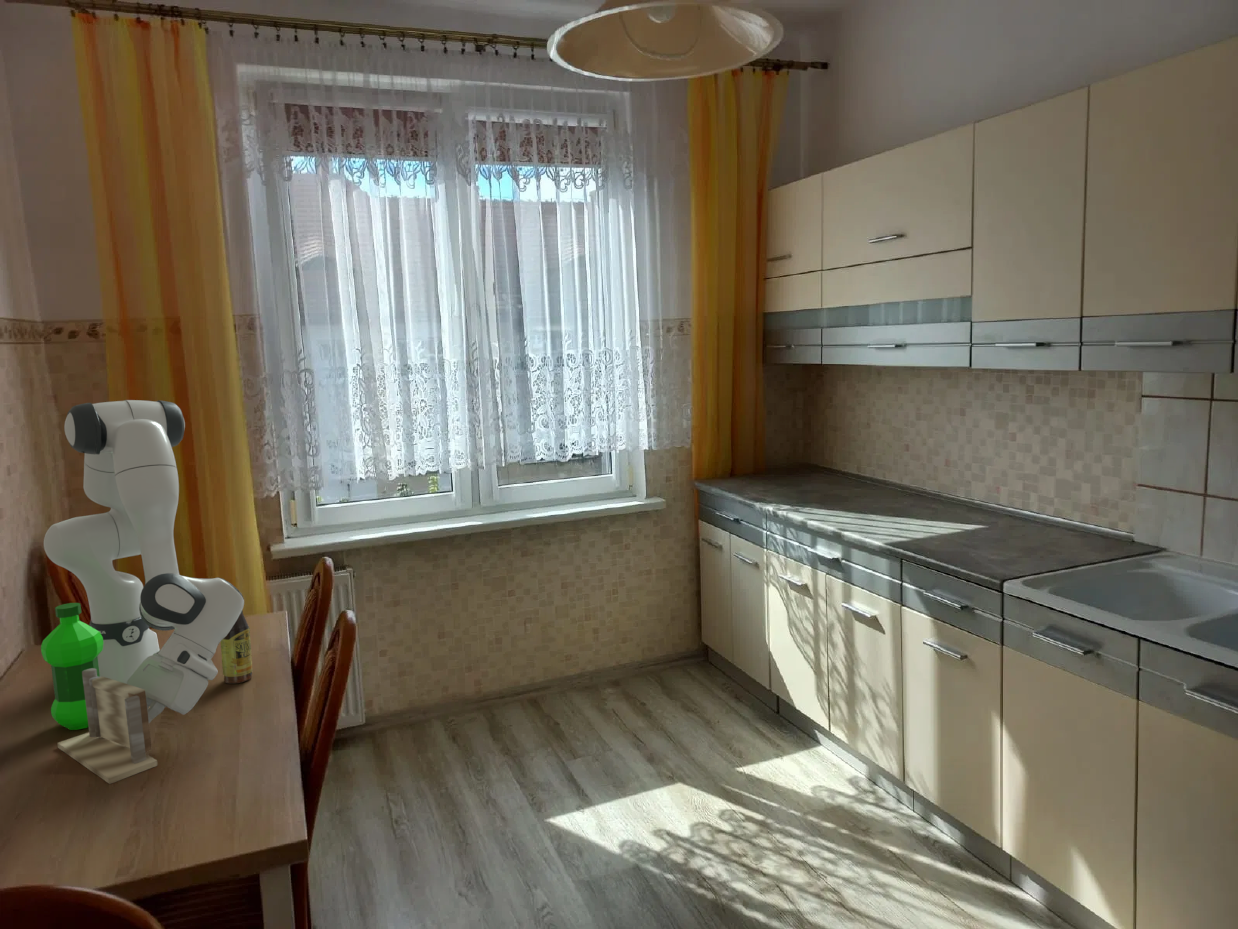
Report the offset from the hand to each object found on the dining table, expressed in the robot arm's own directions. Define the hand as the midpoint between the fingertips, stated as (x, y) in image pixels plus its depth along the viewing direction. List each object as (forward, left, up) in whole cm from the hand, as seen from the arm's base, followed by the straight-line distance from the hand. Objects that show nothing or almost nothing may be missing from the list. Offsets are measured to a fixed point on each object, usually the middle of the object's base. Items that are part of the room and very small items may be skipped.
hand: (137, 723), depth 158 cm
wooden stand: (-3, -5, -5) cm, 8 cm away
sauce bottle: (-19, +29, -6) cm, 35 cm away
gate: (-3, -2, -4) cm, 5 cm away
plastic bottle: (-23, -2, -6) cm, 24 cm away
